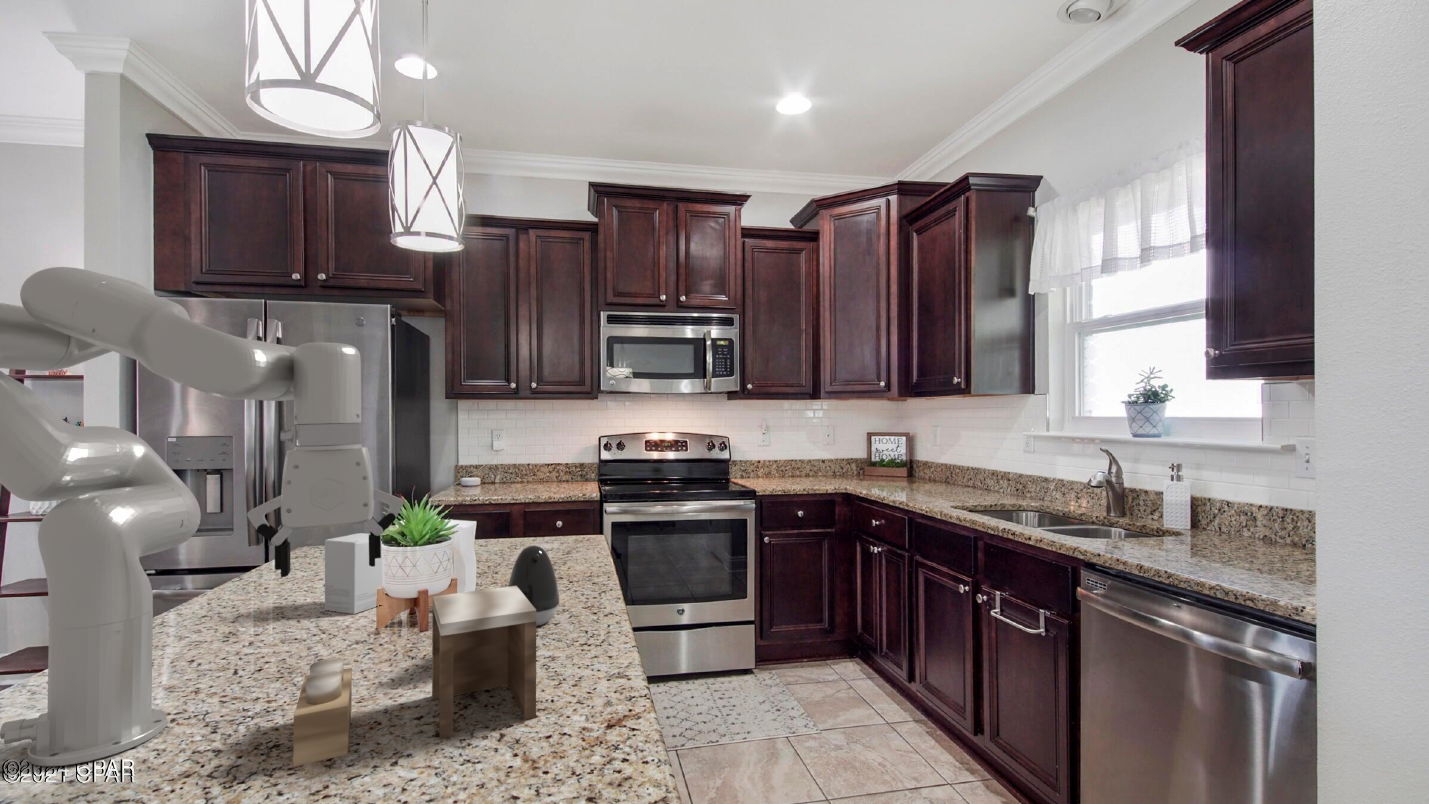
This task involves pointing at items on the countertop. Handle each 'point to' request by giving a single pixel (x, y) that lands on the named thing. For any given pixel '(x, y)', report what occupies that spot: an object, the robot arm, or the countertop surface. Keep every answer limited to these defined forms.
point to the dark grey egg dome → (536, 582)
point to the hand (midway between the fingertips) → (330, 569)
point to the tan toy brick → (323, 713)
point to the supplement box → (350, 574)
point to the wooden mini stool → (483, 648)
